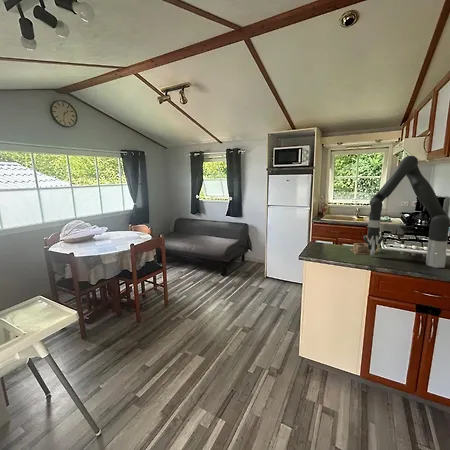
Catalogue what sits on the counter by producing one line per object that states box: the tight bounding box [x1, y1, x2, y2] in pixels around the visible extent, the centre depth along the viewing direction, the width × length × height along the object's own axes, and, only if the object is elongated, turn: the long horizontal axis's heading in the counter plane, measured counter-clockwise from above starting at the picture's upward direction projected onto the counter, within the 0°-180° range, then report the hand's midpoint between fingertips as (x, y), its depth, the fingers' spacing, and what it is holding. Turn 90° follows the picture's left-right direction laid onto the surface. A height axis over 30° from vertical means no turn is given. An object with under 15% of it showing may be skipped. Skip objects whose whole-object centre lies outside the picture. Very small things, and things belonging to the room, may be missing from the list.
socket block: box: [350, 242, 371, 256], centre depth 195 cm, size 12×12×6 cm
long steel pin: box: [370, 239, 376, 256], centre depth 183 cm, size 3×3×12 cm
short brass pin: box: [375, 244, 380, 254], centre depth 193 cm, size 3×3×6 cm
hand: (372, 249), depth 183 cm, fingers closed on long steel pin, 3 cm apart
